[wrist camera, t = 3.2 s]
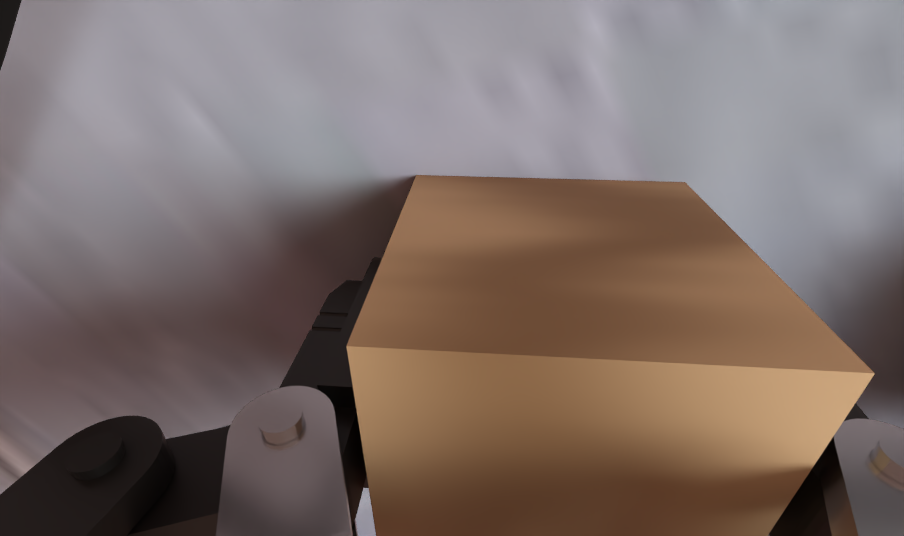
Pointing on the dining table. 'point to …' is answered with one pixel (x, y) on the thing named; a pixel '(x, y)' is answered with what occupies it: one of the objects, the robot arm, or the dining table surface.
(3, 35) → the black eyeglasses
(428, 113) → the dining table surface
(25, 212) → the dining table surface
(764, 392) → the oak block
